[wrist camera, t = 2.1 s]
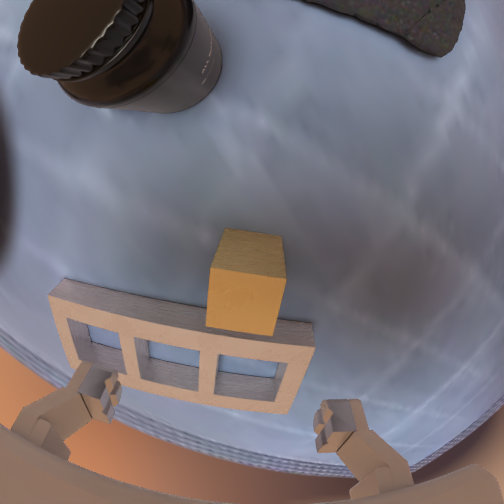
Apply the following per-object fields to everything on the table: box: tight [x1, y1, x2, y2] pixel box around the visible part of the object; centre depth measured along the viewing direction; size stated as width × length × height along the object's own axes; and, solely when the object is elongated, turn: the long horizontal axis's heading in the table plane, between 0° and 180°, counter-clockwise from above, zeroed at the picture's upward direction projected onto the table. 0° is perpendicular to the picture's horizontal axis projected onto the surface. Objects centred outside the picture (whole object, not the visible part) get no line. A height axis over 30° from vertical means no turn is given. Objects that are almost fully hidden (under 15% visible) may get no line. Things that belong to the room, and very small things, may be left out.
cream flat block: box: [48, 278, 316, 414], centre depth 24 cm, size 23×10×3 cm, turn 82°
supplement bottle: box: [17, 0, 222, 113], centre depth 10 cm, size 7×7×12 cm
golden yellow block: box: [206, 228, 287, 336], centre depth 18 cm, size 4×4×6 cm
